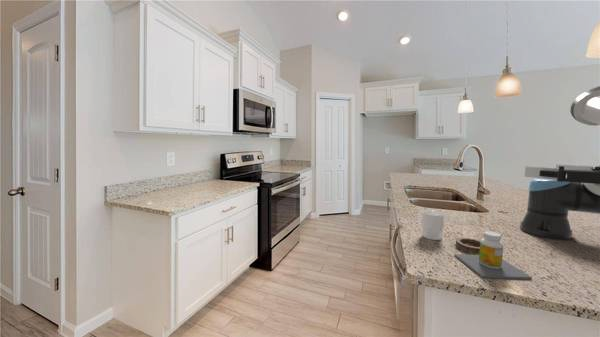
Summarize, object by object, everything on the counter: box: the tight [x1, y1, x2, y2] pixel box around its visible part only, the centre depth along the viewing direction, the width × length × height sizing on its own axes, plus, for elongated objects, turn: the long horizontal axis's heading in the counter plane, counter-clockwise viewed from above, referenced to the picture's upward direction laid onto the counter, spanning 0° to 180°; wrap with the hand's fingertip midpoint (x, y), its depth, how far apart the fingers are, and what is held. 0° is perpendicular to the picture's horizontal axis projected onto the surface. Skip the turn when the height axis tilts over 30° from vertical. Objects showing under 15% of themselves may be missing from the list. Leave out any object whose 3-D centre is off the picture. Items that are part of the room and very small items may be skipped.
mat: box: [454, 253, 533, 280], centre depth 71 cm, size 13×13×1 cm
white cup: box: [421, 209, 446, 241], centre depth 94 cm, size 8×8×10 cm
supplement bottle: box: [478, 230, 504, 269], centre depth 71 cm, size 5×5×10 cm
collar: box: [455, 237, 481, 255], centre depth 84 cm, size 9×9×2 cm
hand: (541, 170), depth 63 cm, fingers open, 13 cm apart
